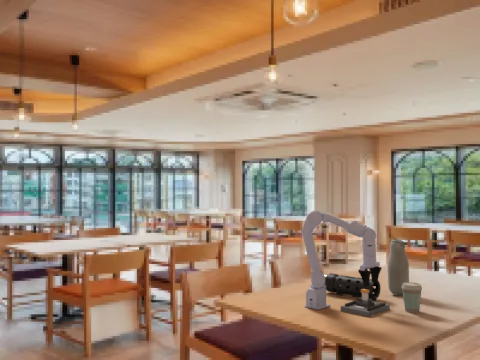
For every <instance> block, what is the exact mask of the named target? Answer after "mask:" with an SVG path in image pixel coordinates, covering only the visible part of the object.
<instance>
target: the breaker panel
mask: <svg viewBox="0 0 480 360" xmlns="http://www.w3.org/2000/svg"><path fill="white" fill-rule="evenodd" d="M390 309H391V305H390V303H389V304H388V303H386V302H385V301H383V302H378V301H375V300H372V299H368V300H367V301H366V300H362V297H360V298H358V297H357V299H355V300H352V301H350V302H349V301H348V302H345V303H344V305H341V306H340V312H343V313H349V314H353V315H358V316H361V317H362V316H363V317H366V316H368V317H367V318H370V317H373V316H376V315H378V314H380V312H381V313H383V312H386V311H388V310H390ZM375 314H376V315H375ZM372 315H373V316H372Z"/></svg>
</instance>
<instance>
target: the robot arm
mask: <svg viewBox="0 0 480 360" xmlns="http://www.w3.org/2000/svg"><path fill="white" fill-rule="evenodd" d="M321 223H323V224H327V223H330V224H333V225H336V226H338V227H341V228H344V229H345V231H346V233H347V234H351V235H352V236H356V237H357V238H362V259H363V260H362V261H363V263H362V264H361V265H359V269H358V273H359V275H360V278H362V280H363V284H364V286H369V279H372V283H377V281H379V277H380V273H381V272H382V267H381V266H380V265H381V264H380V261H377V244H376V238H377V233H376V231H375V230H374V229H373V228H372V227H371V228H370V226H367V225H363V224H361V223H358V221H356V220H354V221H353V220H350V221H345V220H343V219H341V218H339V217H336V216H335V215H332V214H330V213H327V212H323V211H321V212H320V211H319V210H316V209H315V210H312V211H310V212H309V213H308V215H306V217H305V220H304V223H303V226H302V228H301V235H302V238H303V243H304V246H305V251H306V255H307V259H308V264H309V268H310V272H311V277H310V278H311V279H310V280H311V284H310V287H309V289H307V290H306V292H305V305H304V308H310V309H314V310H322V309H325V308H328V307H330V306H331V304H328V303H327V290H326V285H324V284H325V274H324V272H322V268H321V265H320V260H319V257H318V252H317V249H316V244H315V239H314V236H313V232H314V230H315V229H316V227H317V226H319V225H320V224H321ZM370 277H371V278H370Z"/></svg>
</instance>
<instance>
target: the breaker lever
mask: <svg viewBox="0 0 480 360" xmlns="http://www.w3.org/2000/svg"><path fill="white" fill-rule="evenodd" d="M361 292H362V300H366V301H367V300H368V293H369V290H367V289H361Z"/></svg>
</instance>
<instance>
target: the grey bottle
mask: <svg viewBox="0 0 480 360" xmlns="http://www.w3.org/2000/svg"><path fill="white" fill-rule="evenodd" d="M386 265H387V267H386V268H387V286H388V290H389V292H390V293H391V294H392V295H395V296H403V291H402V285H403V283H406V282H410V265H409V259H408V256H407V252H406V244H405V242H404V240H401V239H393V240H391V241H390V242H389V254H388V257H387V263H386Z"/></svg>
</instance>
